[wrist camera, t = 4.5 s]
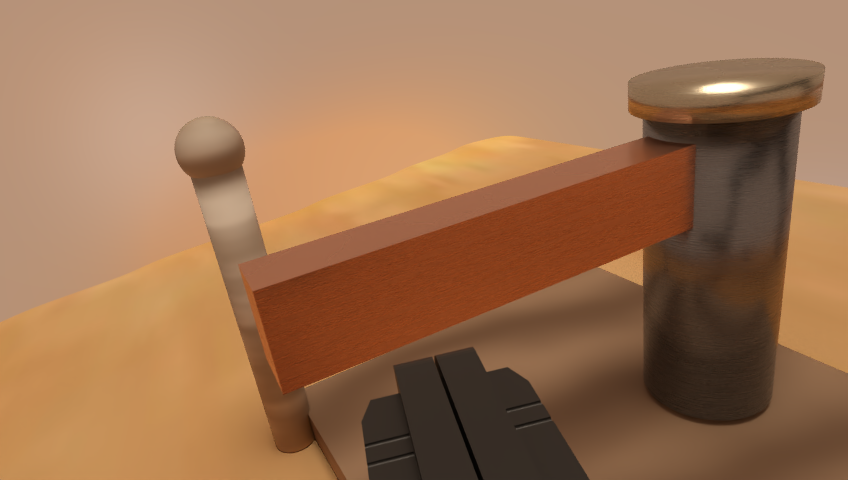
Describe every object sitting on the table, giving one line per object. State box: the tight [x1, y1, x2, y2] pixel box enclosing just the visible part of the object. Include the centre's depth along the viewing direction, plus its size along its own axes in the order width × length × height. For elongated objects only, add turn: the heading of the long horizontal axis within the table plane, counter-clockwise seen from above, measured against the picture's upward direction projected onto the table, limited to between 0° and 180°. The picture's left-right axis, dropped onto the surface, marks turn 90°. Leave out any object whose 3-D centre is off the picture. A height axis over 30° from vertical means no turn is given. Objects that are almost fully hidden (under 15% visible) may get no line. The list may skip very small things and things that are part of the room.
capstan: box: [238, 58, 825, 421], centre depth 20 cm, size 20×6×13 cm, turn 117°
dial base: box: [175, 116, 848, 480], centre depth 22 cm, size 20×22×16 cm
